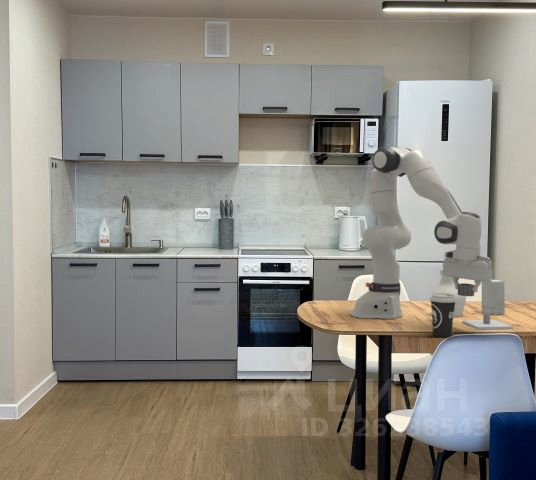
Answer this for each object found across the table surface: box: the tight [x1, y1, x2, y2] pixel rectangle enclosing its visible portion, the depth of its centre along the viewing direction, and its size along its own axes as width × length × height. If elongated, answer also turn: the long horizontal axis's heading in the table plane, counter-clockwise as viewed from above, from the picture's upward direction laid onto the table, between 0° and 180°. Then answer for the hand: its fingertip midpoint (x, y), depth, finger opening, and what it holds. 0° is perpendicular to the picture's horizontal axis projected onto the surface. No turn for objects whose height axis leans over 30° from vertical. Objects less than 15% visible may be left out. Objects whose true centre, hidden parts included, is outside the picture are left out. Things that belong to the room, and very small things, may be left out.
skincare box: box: [481, 279, 506, 316], centre depth 285 cm, size 8×6×15 cm
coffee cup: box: [429, 293, 456, 338], centre depth 239 cm, size 10×10×15 cm
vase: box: [431, 267, 467, 318], centre depth 281 cm, size 14×14×20 cm
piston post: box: [461, 310, 513, 331], centre depth 257 cm, size 14×14×6 cm
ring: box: [458, 282, 475, 297], centre depth 248 cm, size 6×6×4 cm
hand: (466, 290), depth 248 cm, fingers closed on ring, 6 cm apart
